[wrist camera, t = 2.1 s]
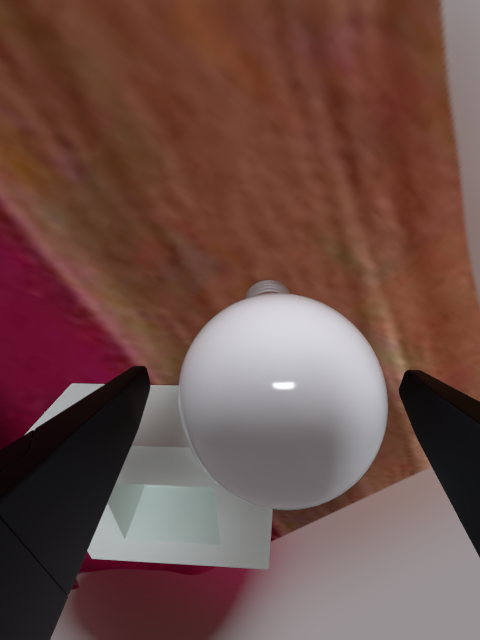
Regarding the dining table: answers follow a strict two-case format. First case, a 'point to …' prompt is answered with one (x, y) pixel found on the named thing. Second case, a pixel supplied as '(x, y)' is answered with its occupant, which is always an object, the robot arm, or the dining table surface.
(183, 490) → the socket block
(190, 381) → the lightbulb
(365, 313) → the dining table surface
